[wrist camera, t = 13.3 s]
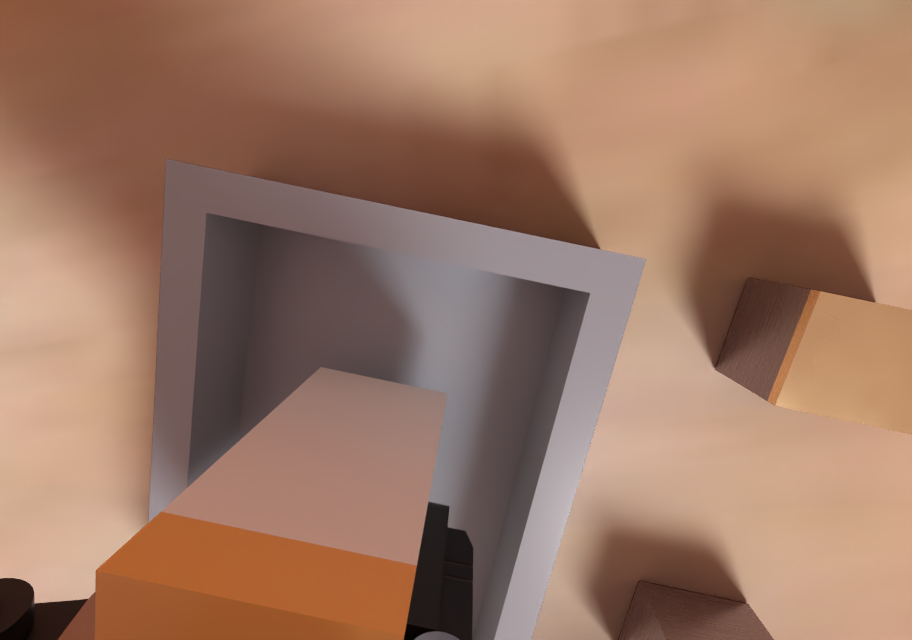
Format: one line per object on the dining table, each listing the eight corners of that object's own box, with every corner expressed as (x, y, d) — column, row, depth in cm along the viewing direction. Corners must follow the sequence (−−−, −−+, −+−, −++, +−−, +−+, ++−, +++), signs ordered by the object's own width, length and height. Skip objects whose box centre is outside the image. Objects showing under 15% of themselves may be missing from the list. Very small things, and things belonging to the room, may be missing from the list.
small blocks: (878, 304, 13) (985, 325, 10) (720, 668, 16) (770, 759, 13) (748, 277, 13) (821, 291, 10) (615, 646, 16) (644, 732, 13)
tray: (601, 250, 13) (645, 259, 10) (487, 660, 16) (490, 774, 13) (247, 176, 13) (166, 158, 10) (209, 601, 17) (139, 699, 13)
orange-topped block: (447, 393, 12) (404, 636, 5) (403, 602, 13) (322, 1013, 6) (320, 366, 12) (96, 570, 5) (291, 579, 13) (90, 962, 6)
